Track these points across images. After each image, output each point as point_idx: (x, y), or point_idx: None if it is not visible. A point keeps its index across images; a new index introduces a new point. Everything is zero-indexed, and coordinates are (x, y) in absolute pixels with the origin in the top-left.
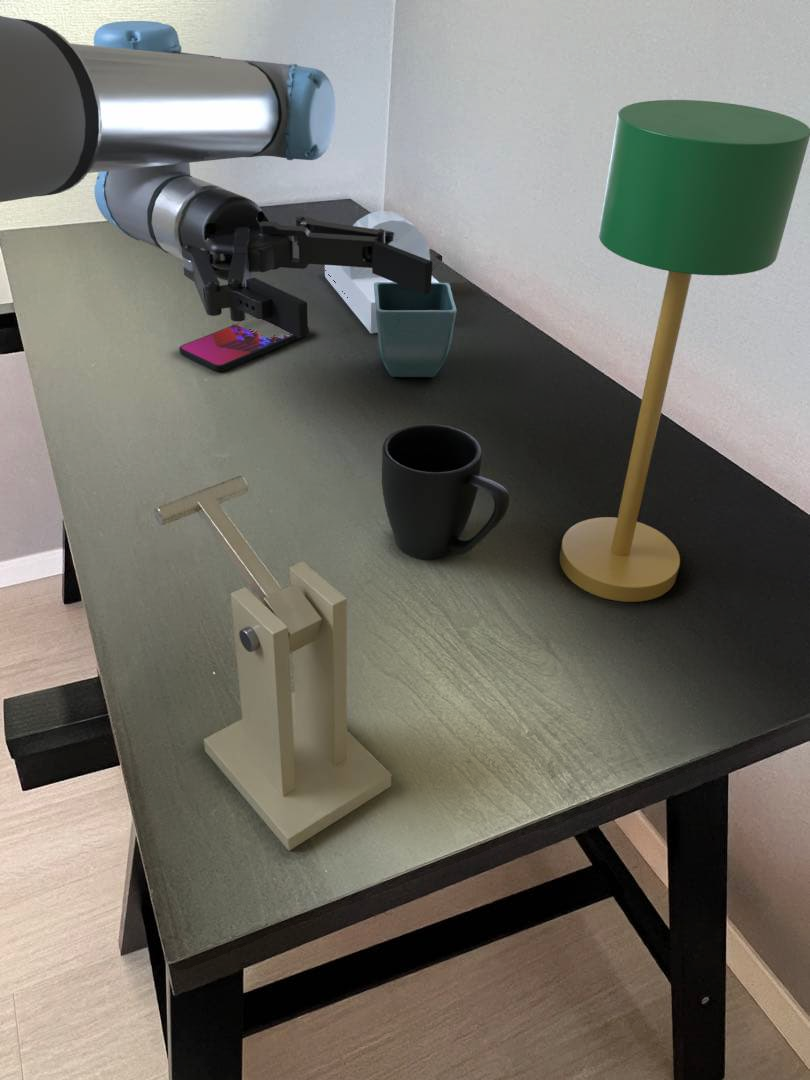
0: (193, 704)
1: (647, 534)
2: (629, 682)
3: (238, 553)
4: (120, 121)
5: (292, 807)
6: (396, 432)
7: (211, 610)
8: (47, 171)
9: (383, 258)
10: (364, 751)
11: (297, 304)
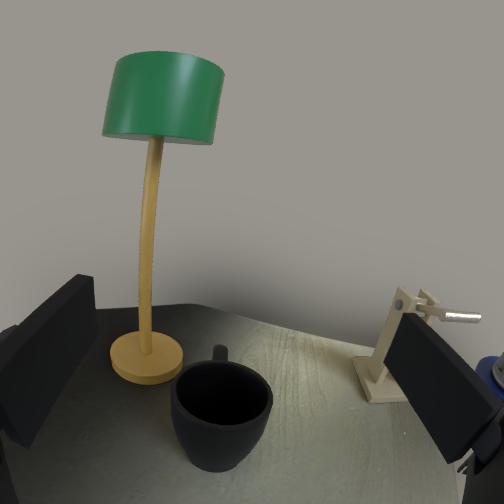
0: (416, 421)
1: (121, 345)
2: (228, 336)
3: (439, 307)
4: None
5: None
6: (227, 425)
7: (396, 474)
8: None
9: (29, 378)
10: (359, 365)
11: (417, 315)
